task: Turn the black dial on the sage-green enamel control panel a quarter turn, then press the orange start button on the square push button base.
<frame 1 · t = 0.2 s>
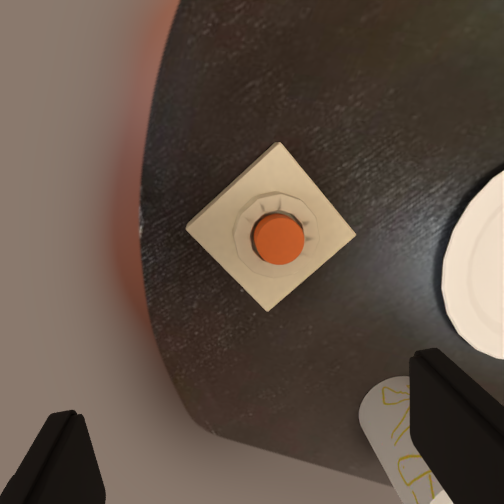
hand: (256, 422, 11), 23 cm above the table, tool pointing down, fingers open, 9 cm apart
start button: (278, 239, 29), point 4 cm above the table, slide at 0.1 cm
white patterned cylinder: (395, 408, 40), on the table
square push button base: (269, 226, 33), on the table
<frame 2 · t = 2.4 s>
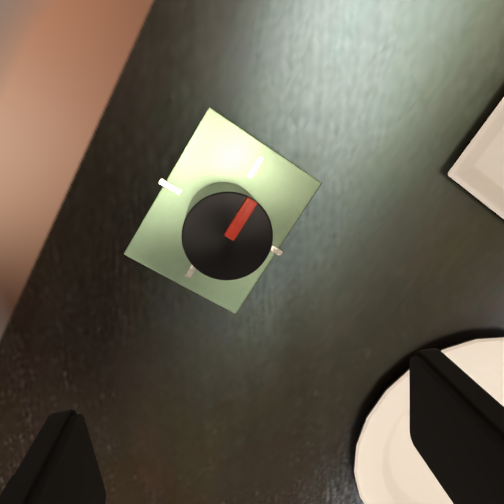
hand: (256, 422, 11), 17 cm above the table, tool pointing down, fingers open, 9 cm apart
plate: (459, 433, 34), on the table
dial: (225, 227, 20), point 6 cm above the table, hinge at 0.0°
dial panel: (221, 210, 26), on the table
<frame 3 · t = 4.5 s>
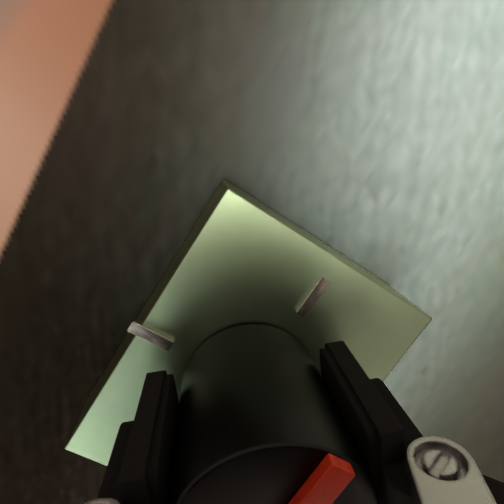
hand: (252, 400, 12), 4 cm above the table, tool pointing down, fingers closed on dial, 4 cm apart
dial: (260, 446, 10), point 6 cm above the table, hinge at -0.1°, touching gripper
dial panel: (242, 338, 15), on the table
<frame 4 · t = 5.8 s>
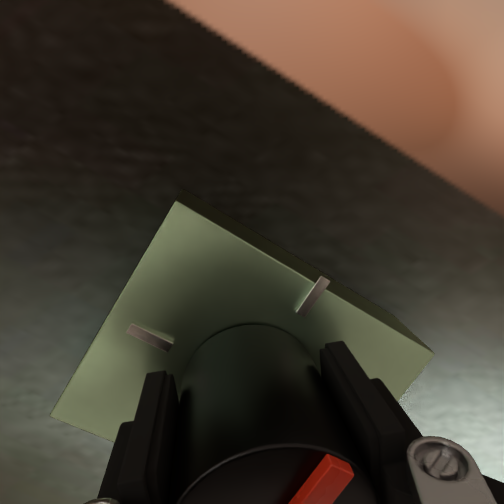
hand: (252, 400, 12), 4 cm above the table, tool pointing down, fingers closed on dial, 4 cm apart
dial: (260, 447, 10), point 6 cm above the table, hinge at 90.1°, touching gripper
dial panel: (242, 339, 15), on the table
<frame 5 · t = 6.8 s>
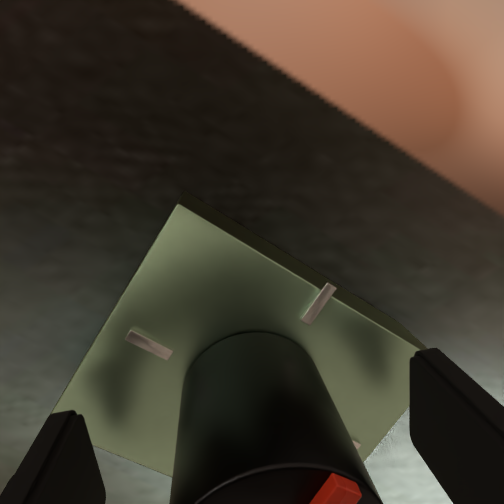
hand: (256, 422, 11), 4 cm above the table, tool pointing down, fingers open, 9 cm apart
dial: (264, 461, 9), point 6 cm above the table, hinge at 92.3°
dial panel: (243, 345, 15), on the table
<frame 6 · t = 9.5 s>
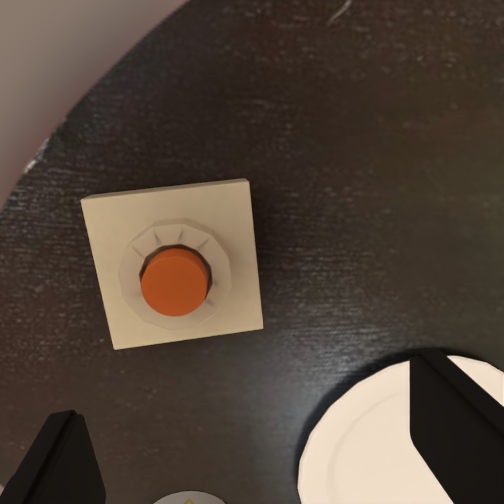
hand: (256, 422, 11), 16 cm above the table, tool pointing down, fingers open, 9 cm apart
start button: (175, 281, 22), point 4 cm above the table, slide at 0.1 cm
plate: (409, 451, 33), on the table
square push button base: (181, 259, 26), on the table
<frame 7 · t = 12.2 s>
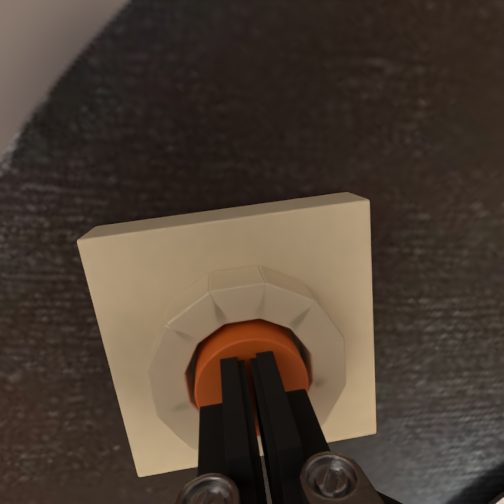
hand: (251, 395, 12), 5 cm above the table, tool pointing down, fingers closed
start button: (249, 374, 13), point 4 cm above the table, slide at -0.6 cm, touching gripper
square push button base: (240, 322, 16), on the table
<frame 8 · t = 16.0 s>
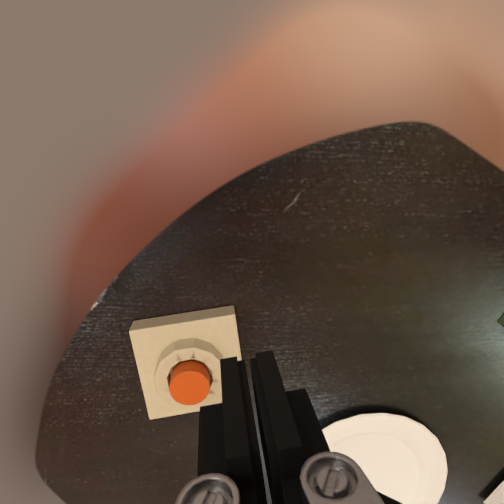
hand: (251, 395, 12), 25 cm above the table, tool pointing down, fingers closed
start button: (190, 382, 35), point 4 cm above the table, slide at 0.1 cm
plate: (358, 476, 46), on the table
square push button base: (192, 356, 39), on the table
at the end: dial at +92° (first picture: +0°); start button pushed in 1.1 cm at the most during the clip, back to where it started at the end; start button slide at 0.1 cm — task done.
